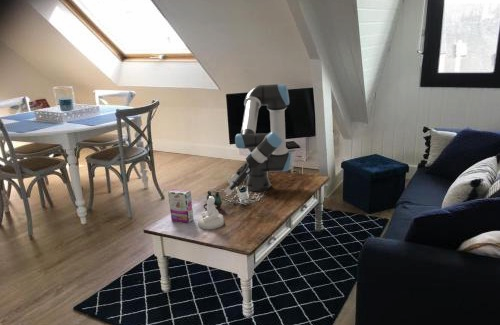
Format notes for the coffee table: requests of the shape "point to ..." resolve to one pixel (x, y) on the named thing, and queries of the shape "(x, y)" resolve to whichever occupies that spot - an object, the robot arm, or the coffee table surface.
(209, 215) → the white creature statuette
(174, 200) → the candy bar box
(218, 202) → the green bottle cruet set
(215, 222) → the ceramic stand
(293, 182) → the coffee table surface
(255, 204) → the coffee table surface
